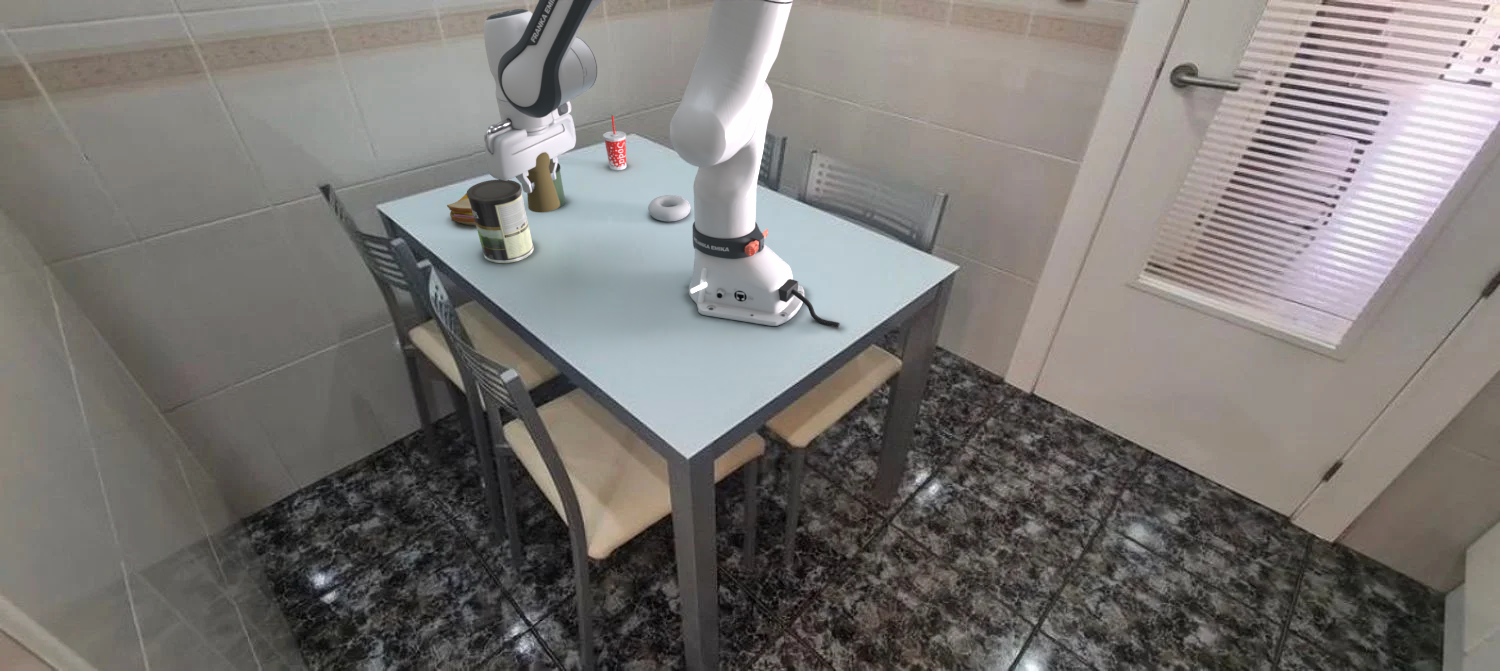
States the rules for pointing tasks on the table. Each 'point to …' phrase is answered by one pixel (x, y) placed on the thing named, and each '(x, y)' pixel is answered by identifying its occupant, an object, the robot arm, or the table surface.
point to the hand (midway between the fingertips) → (540, 185)
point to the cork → (542, 187)
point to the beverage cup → (616, 148)
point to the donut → (669, 208)
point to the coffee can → (501, 220)
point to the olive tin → (559, 186)
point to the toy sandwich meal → (462, 211)
